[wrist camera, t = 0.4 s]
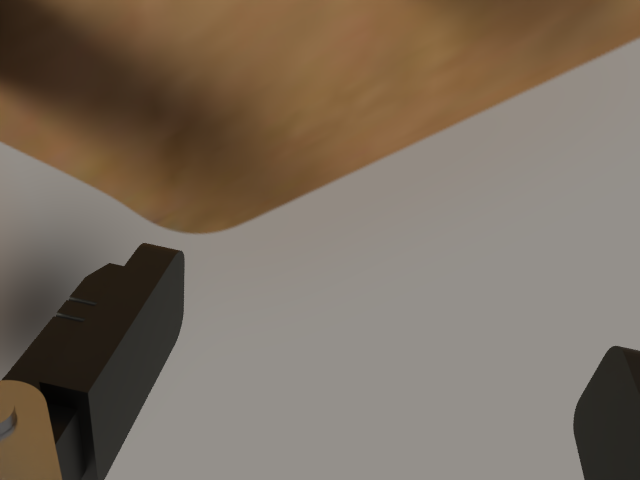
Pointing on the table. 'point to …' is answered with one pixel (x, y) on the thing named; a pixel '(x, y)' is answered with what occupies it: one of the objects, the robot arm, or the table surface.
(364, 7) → the table surface
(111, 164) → the table surface
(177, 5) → the table surface
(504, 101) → the table surface
